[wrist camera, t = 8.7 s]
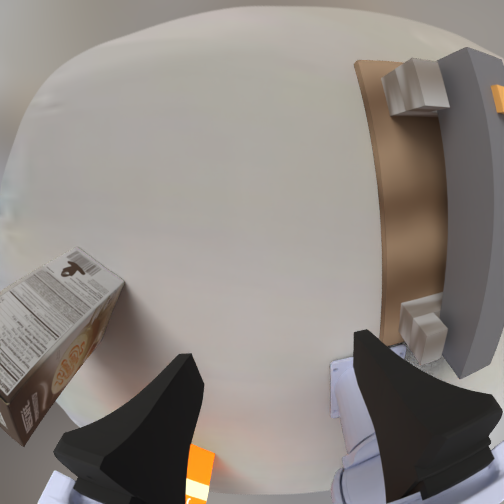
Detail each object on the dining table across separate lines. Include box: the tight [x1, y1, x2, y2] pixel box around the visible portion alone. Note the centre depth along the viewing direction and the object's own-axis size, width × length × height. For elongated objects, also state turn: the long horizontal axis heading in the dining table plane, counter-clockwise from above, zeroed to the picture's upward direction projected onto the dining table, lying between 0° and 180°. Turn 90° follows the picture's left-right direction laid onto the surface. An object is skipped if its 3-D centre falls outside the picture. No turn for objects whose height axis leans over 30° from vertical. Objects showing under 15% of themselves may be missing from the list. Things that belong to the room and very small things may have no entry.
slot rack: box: [354, 58, 450, 366], centre depth 15 cm, size 24×12×6 cm, turn 11°
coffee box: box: [0, 247, 124, 447], centre depth 15 cm, size 9×6×16 cm
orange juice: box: [186, 444, 215, 504], centre depth 22 cm, size 8×9×20 cm
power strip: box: [435, 47, 504, 379], centre depth 12 cm, size 22×4×6 cm, turn 11°
